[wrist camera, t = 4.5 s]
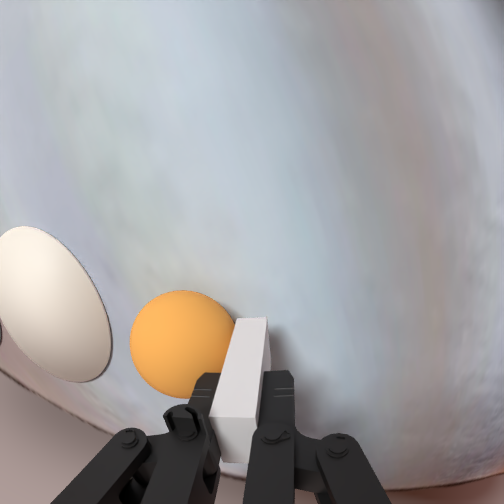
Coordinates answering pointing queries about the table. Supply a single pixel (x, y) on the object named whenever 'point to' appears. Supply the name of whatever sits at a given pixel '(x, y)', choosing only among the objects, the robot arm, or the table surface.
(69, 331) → the disc
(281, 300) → the table surface
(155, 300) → the ball
